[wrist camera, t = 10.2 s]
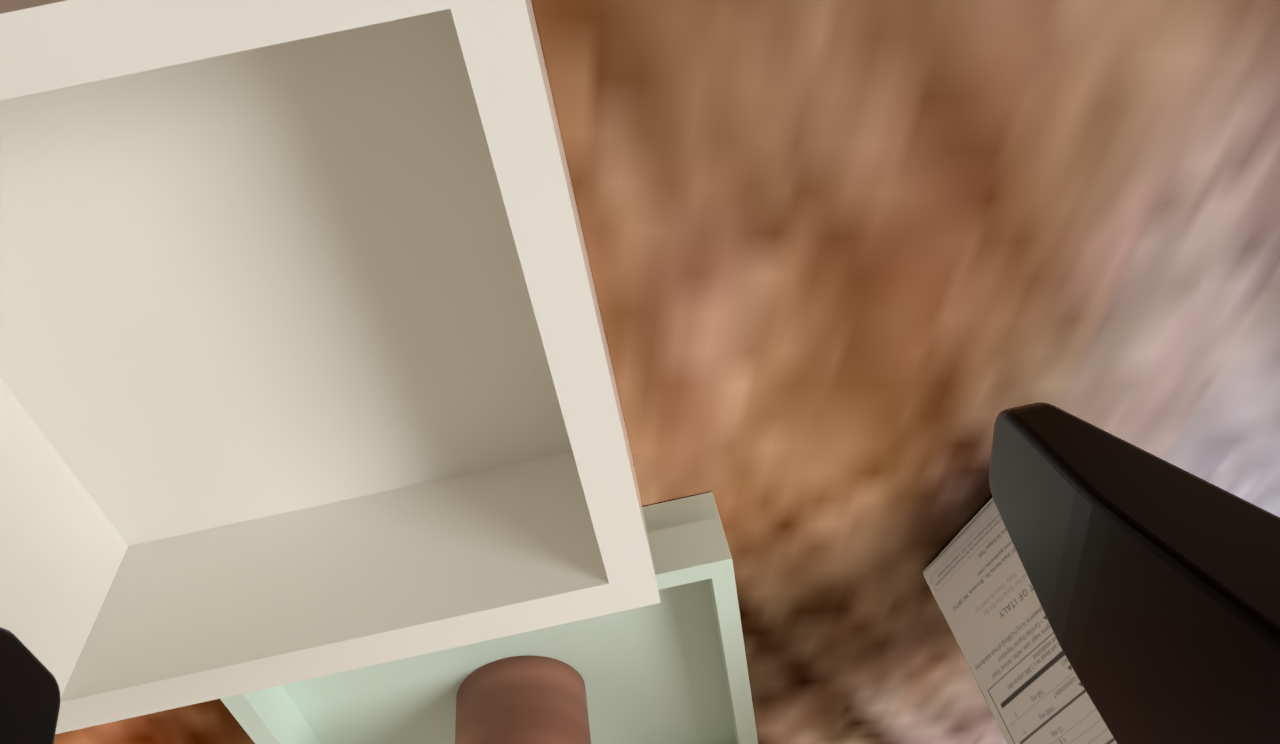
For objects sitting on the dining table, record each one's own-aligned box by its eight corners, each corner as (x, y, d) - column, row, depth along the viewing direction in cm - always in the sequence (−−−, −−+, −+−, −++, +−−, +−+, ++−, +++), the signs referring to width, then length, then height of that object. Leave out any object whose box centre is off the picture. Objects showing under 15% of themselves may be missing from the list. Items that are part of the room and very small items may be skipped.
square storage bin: (500, -135, 15) (504, -89, 11) (631, 455, 24) (661, 602, 20) (-307, 27, 15) (-599, 134, 11) (116, 565, 23) (38, 737, 19)
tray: (712, 492, 25) (731, 558, 23) (747, 723, 32) (764, 789, 30) (223, 596, 25) (200, 673, 23) (369, 806, 32) (361, 879, 30)
